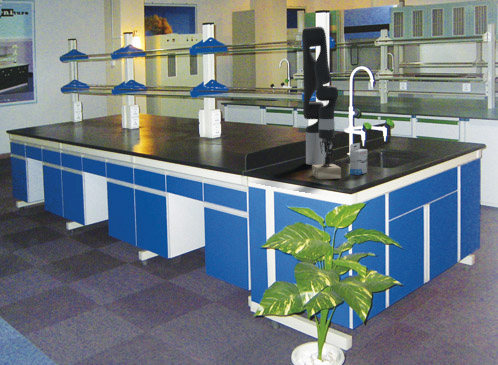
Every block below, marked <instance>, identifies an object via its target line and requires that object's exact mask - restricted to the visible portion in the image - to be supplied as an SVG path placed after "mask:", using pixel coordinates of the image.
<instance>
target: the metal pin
mask: <svg viewBox="0 0 498 365" xmlns="http://www.w3.org/2000/svg"><path fill="white" fill-rule="evenodd" d="M328 154H329V152H328ZM330 164H331V163H330ZM330 164H329V165H326V164H325V152H324V146H323V167H330Z"/></svg>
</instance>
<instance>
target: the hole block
mask: <svg viewBox="0 0 498 365" xmlns="http://www.w3.org/2000/svg"><path fill="white" fill-rule="evenodd" d="M311 175H312V176H313V177H314V178H316V179H317V180H330V179H331V180H332V179H342V167H340V166H339V165H336V164H334V163H330V167H323V164H320V165H311Z"/></svg>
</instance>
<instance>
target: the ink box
mask: <svg viewBox="0 0 498 365" xmlns="http://www.w3.org/2000/svg"><path fill="white" fill-rule="evenodd" d="M367 173H368V149H366V148H361V143H360V142H357V143H352V144H350V151H349V175H354V176H360V175H363V174H367Z"/></svg>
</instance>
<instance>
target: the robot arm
mask: <svg viewBox="0 0 498 365" xmlns="http://www.w3.org/2000/svg"><path fill="white" fill-rule="evenodd" d="M301 34H302V35H301V37H302V38H301V40H302V52H303V70H302V71H303V72H302V73H303V75H302V77H303V80H302V81H303V106H302V107H303V108H302V110H303V113H302V114H303V118H304V119H306V120H316V122H314V123H313V124H311V125H307V126H306V127H305V164H306V165H308V166H309V165H310V166H312V165H322V164H323V146H324V152H325V164H326V165H329V164H331V157H332V155H333V149H334V144H332V143H333V142H332V140H331V139H334V138H335V125H336V124H335V123H336V122H335V110H336V109H335V108H336V104H337V100H338V96H339V89H338V87H337V86H336V85H327V84H329V83H330V82H331V81H332V75H331V71H330V66H329V59H328V58H329V57H328V46H327V45H328V44H327V37H326V36H327V35H326V31H325V28H324V27H323V26H314V27H305V28H304V29H302V33H301ZM313 47H319V53H318V56H317V58H316V59H315V57H314V56H313V54H312V53H311V48H313ZM314 94H315V97H316V100H318V101H311V99H312V97H313V95H314ZM323 102H327V104H324V103H323ZM328 152H329V154H328Z"/></svg>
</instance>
